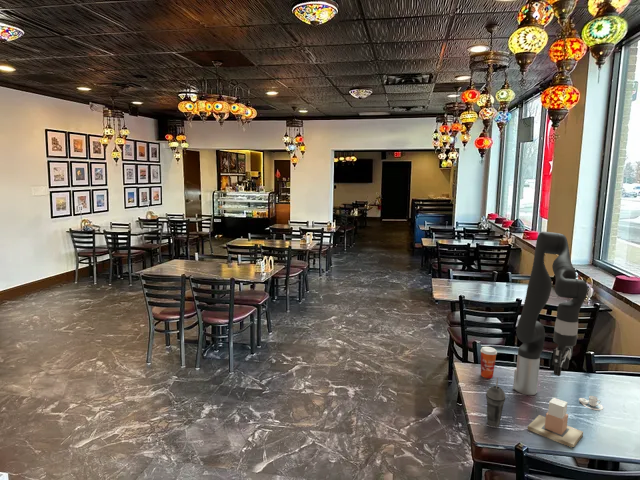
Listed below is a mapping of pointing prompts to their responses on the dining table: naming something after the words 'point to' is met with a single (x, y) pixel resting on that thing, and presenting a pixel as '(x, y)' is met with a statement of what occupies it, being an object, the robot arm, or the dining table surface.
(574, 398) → the dining table surface
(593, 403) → the teacup and saucer
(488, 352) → the paper cup
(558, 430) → the terracotta cube
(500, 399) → the beverage cup
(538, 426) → the beige rectangular frame
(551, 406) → the white cube
